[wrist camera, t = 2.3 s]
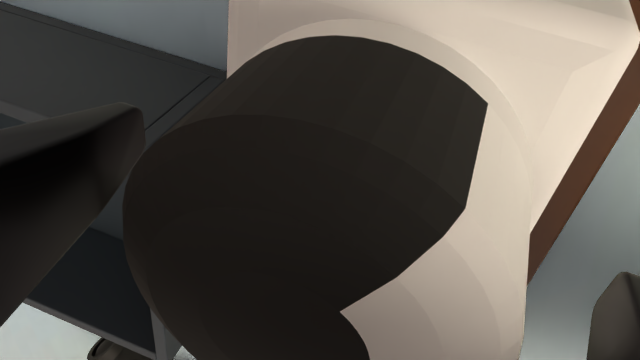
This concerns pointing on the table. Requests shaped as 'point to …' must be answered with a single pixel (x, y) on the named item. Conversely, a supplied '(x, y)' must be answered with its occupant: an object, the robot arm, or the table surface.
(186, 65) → the tote
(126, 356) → the door handle
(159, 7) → the table surface
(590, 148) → the frame
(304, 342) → the medicine bottle
